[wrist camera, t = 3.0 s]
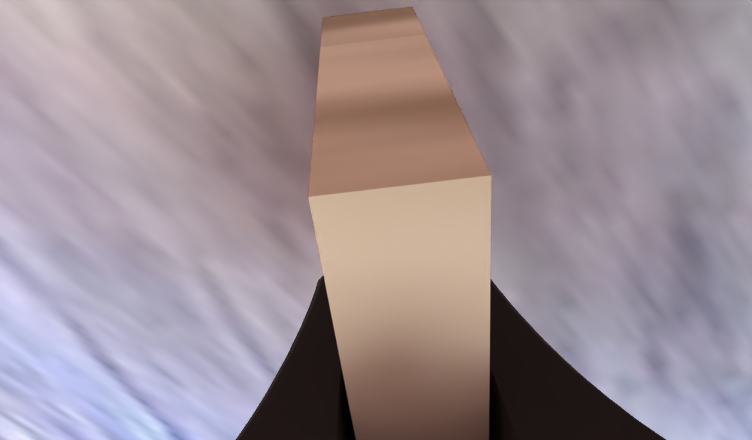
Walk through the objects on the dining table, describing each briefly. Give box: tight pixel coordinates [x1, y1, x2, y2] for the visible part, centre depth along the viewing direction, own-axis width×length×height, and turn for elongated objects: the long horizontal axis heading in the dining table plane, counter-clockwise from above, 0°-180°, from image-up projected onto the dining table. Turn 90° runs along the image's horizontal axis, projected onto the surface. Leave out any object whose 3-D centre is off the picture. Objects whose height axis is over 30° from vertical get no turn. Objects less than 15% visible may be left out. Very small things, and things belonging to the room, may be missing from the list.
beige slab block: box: [308, 7, 491, 440], centre depth 11 cm, size 10×2×7 cm, turn 5°
